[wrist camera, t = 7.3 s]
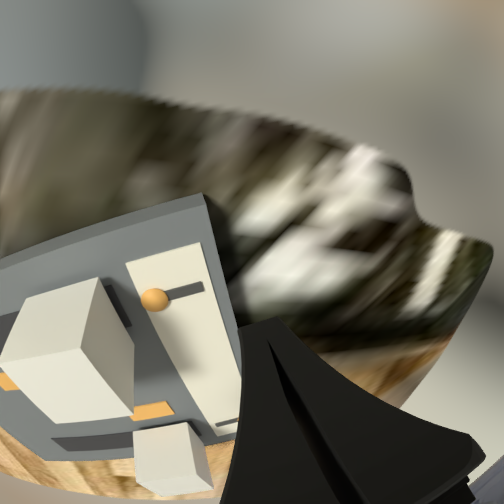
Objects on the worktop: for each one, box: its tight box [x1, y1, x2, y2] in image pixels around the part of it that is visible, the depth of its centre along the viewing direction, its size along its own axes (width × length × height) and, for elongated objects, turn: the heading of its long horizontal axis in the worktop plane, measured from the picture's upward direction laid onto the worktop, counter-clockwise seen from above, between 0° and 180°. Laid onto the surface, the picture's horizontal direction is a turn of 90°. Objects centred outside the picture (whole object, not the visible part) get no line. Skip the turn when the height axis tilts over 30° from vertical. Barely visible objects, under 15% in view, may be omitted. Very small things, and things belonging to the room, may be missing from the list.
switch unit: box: [0, 193, 241, 461], centre depth 15 cm, size 19×22×2 cm
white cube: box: [133, 422, 214, 497], centre depth 16 cm, size 4×4×4 cm
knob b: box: [0, 277, 135, 424], centre depth 10 cm, size 4×4×4 cm
